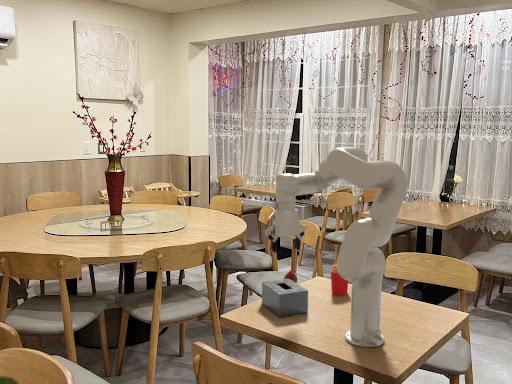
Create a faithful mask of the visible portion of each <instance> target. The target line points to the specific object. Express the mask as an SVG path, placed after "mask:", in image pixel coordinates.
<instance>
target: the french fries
mask: <svg viewBox="0 0 512 384" xmlns="http://www.w3.org/2000/svg"><path fill="white" fill-rule="evenodd" d="M331 269H332V270H331V272H330V282H331V295H332V296H336V297H337V296H338V297H339V296H344V295H347V294H348V290H349V281H348V280H345V279H343V278H342V277H341V276H340V275H339V273H338V270H337V263H335V264H333V265H332V266H331Z"/></svg>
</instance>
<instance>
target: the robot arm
mask: <svg viewBox="0 0 512 384" xmlns="http://www.w3.org/2000/svg"><path fill="white" fill-rule="evenodd" d="M368 160H369V159H368V155H367V153H366V151H365V150H363V149H362V148H360V147H355V146H349V147H348V146H344V147H343V146H342V147H336V148H334V149H332V150H330V151H329V152H328V155H327V157H326V159H323V160H322V161H320V163H319V166H318V170H316V171H313V172H310V173H309V172H307V173H297V174H296V173H295V174H293V173H278V174H277V175H276V176H275V203H272V208H275V209H274V210H273V215H272V224H271V226H269V227H268V228H266V229H265V230H264V234H265V235H266V237H267V238H268V239H269V241H270V248H271V249H270V250H272V251H271V252H274V253H277V252H278V242H277V240H278V238H286V237H294V247H293V248H294V249H295V250H298V251H300V250H301V241H302V238H303V237H304V236H305V234H306V231H307V226H305V225H302V224H300V223H301V222H300V219H301V218H300V216H299V215H300V214H299V210H298V209H297V208H296V203H297V201H296V196H300V195H301V196H302V195H307V194H309V195H310V194H314V193H317V192H320V191H322V190H325V189H327V188H330V187H331V186H332V185H333V184H335V183H336V182H338V181H341V180H343V181H345V182H348V183H349V184H350V185H351V186H354V187H355V188H358V189H362V190H375V189H380V190H379V192H378V193H377V195H376V196H375V198H374V199H373V201H372V203H371V206H370V210H369V211H368V215H367V216H366V217H365V218H362V219H359V220H358V219H357V220H355V221H353V222H352V223H351V224H350V225H348V227H347V228H346V231H345V234H344V236H343V240H342V242H341V246H340V248H339V251H338V252H339V253H338V255H337V258H336V259H337V260H336V264H337V270H338V273H339V275H340V276H341V277H342V278H343V279H345V280H348V282H352V283H351V295H350V296H351V297H350V299H351V300H350V326H349V327H350V328H349V329H350V330H348V331H347V332H346V333H345V335H344V336H345V341H347V342H348V343H349V344H351V345H353V346H355V347H362V348H376V347H379V346H381V345H383V344H384V342H385V341H386V339H385V337H384V335H383V334H382V330H381V329H380V328H381V308H382V305H381V304H382V287H383V286H382V284H383V278H384V273H385V269H386V257H385V255H384V253H383V251H382V250H381V249H380V247H382V246H385V245H386V244H387V243H388V242H389V241H390V240H391V237H392V234H393V232H394V231H393V230H394V228H395V225H396V222H397V219H398V216H399V213H400V209H401V207H402V205H403V203H404V200H405V197H406V195H407V192H408V179H407V175H406V173H405V171H404V169H403V168H402V167H401V166H400V164H398V163H396V162H395V161H392V160H373V161H371V160H370V161H368ZM271 232H272V235H271Z"/></svg>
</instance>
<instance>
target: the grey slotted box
mask: <svg viewBox="0 0 512 384" xmlns="http://www.w3.org/2000/svg"><path fill="white" fill-rule="evenodd" d="M261 305H262V306H264V307H265V308H266V309H268V310H269V311H270V312H271V313H272V314H273V315H275V316H276V317H277V318H279V319H280V318H287V317H293V316H299V315H306V314H309V313H308V312H309V310H308V308H309V290H308V289H307V288H304V286H301V285H300V284H298V282H297V283H295V282H294V281H292V280H290V279H284V278H283V279H275V280H268V281H262V282H261Z"/></svg>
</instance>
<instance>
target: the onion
mask: <svg viewBox="0 0 512 384" xmlns="http://www.w3.org/2000/svg"><path fill="white" fill-rule="evenodd" d="M283 279H290V280H292V281H294V282H295V283H297V284H298V275H296V273H295V272H294V271H292V270H291V269H289V271H288V272H287V273H286V274H285V275H284V277H283Z"/></svg>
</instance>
